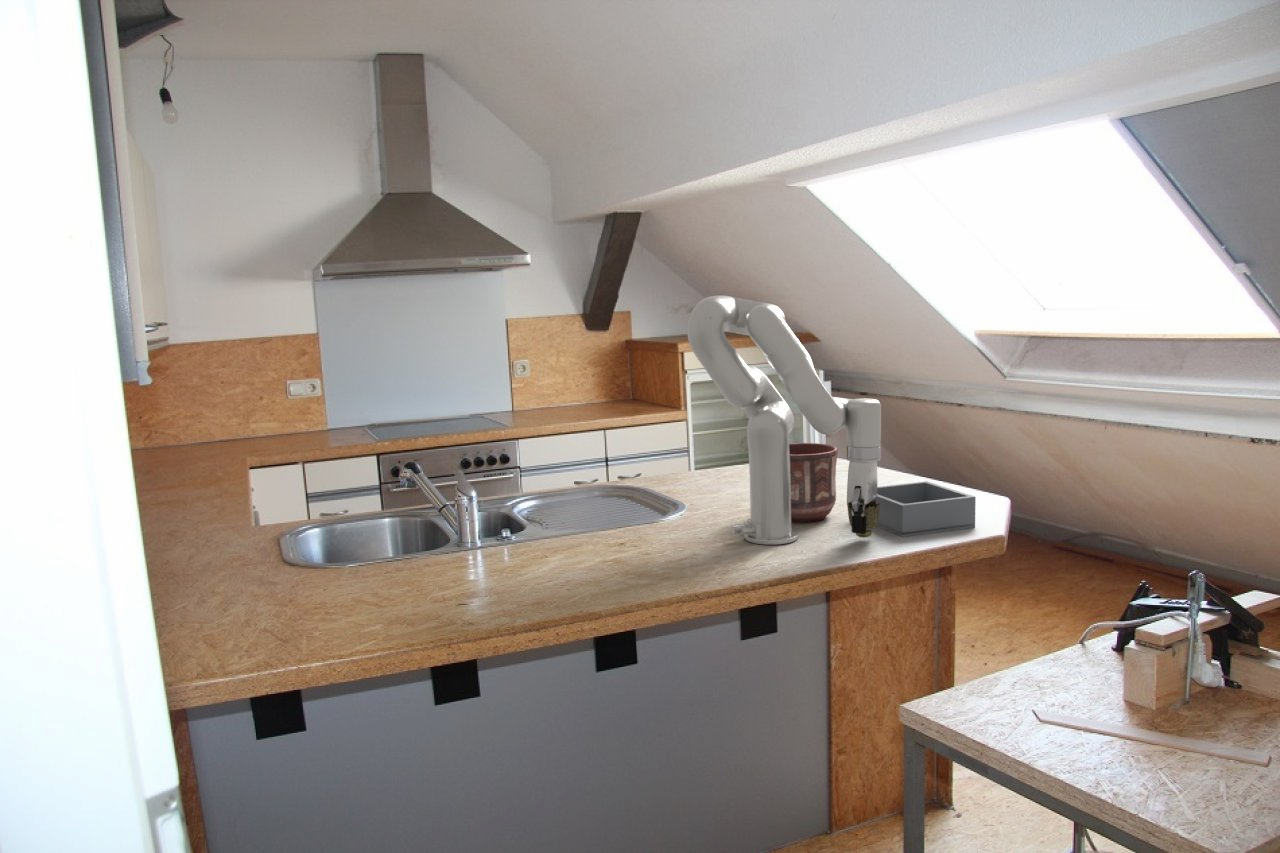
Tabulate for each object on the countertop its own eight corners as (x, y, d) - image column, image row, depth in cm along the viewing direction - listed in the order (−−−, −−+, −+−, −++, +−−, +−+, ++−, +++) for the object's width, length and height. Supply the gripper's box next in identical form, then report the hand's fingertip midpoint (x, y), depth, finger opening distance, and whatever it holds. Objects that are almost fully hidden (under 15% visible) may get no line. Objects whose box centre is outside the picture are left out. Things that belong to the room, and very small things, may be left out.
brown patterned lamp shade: (840, 533, 225) (841, 500, 223) (868, 530, 227) (869, 497, 226) (857, 541, 218) (857, 507, 216) (886, 538, 220) (886, 504, 218)
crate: (902, 536, 225) (902, 505, 224) (858, 518, 244) (858, 489, 243) (975, 527, 231) (975, 496, 230) (926, 509, 250) (926, 481, 249)
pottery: (818, 529, 235) (817, 456, 232) (755, 520, 245) (754, 451, 243) (849, 513, 249) (848, 445, 246) (788, 506, 259) (787, 440, 257)
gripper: (857, 445, 228) (857, 518, 231) (837, 458, 213) (836, 536, 216) (889, 447, 225) (888, 521, 228) (870, 460, 210) (870, 540, 213)
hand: (863, 528), depth 222 cm, fingers closed on brown patterned lamp shade, 7 cm apart
